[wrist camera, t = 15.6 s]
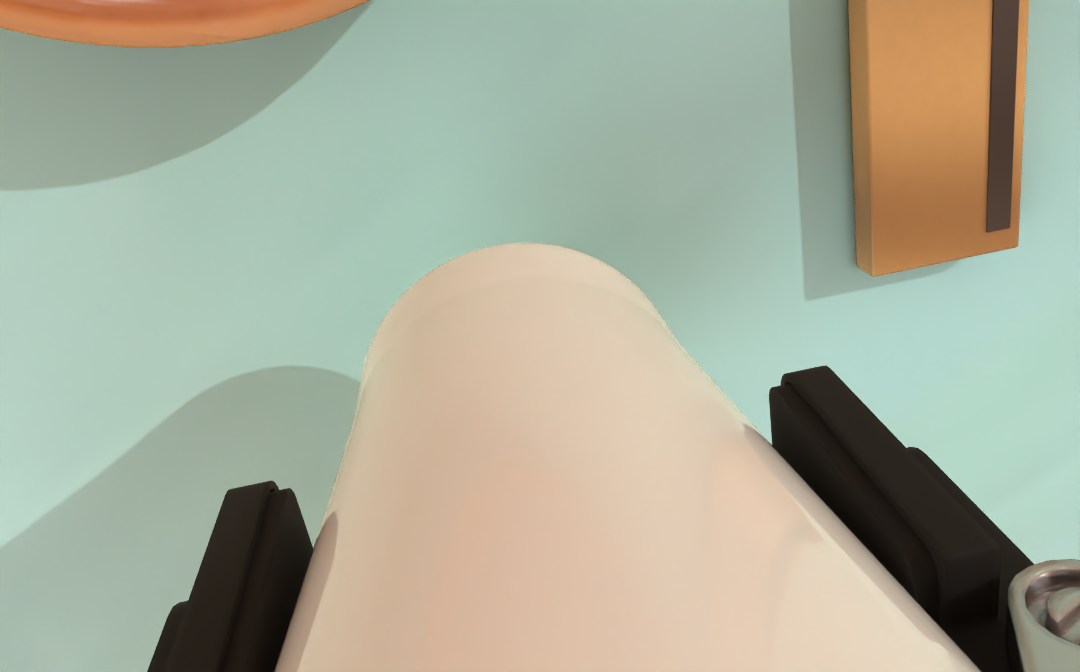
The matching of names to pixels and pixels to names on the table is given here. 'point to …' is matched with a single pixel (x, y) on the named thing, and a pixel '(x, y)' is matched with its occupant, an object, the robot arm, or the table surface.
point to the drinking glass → (577, 502)
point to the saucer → (163, 19)
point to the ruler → (936, 129)
